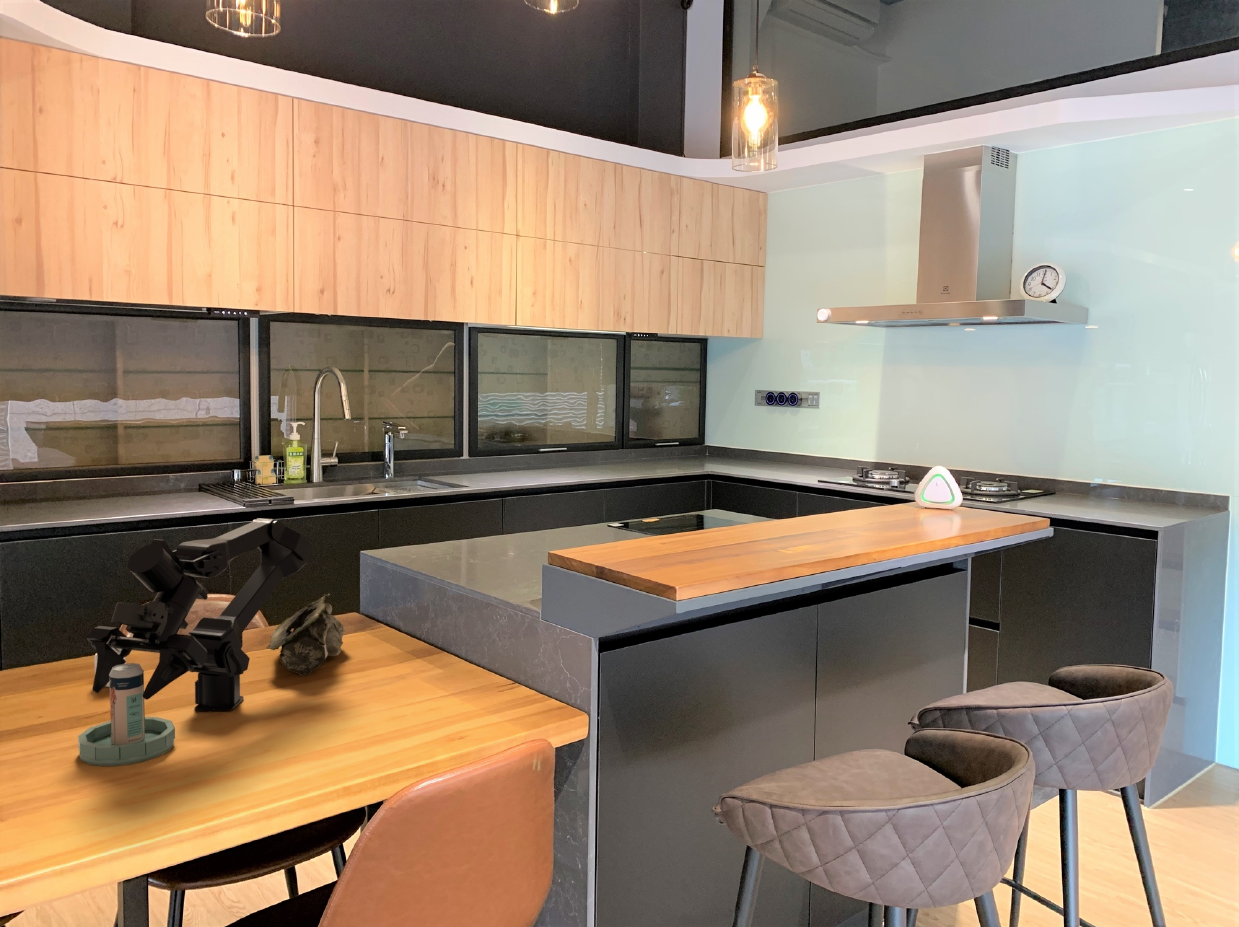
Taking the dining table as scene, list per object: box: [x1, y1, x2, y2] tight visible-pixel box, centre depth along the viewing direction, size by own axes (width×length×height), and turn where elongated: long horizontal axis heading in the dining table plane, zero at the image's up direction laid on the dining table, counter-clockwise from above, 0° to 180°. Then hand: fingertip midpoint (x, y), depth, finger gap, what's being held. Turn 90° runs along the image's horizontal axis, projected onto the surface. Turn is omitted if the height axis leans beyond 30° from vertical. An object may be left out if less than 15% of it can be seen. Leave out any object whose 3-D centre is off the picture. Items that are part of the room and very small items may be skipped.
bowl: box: [77, 716, 176, 767], centre depth 145 cm, size 13×13×3 cm
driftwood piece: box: [266, 592, 345, 676], centre depth 192 cm, size 28×13×15 cm
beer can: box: [109, 662, 146, 745], centre depth 145 cm, size 5×5×12 cm
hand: (119, 695), depth 143 cm, fingers open, 9 cm apart
